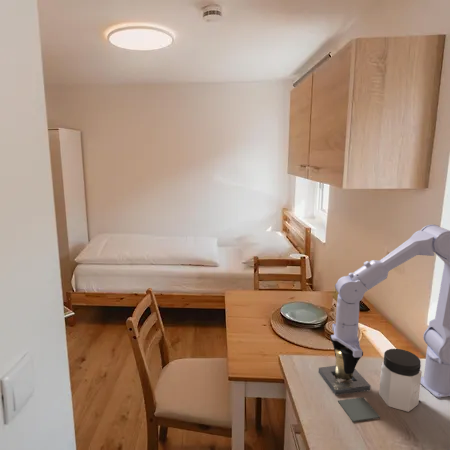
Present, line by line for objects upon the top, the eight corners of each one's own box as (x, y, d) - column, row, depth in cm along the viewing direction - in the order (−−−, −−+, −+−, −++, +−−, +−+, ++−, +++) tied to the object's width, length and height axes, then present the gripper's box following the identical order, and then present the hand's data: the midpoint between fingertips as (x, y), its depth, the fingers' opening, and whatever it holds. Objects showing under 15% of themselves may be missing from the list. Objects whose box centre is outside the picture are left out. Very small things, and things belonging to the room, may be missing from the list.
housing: (350, 368, 100) (350, 363, 100) (370, 390, 91) (370, 385, 90) (318, 372, 99) (318, 367, 98) (335, 395, 89) (335, 390, 89)
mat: (363, 398, 88) (363, 397, 88) (379, 418, 81) (380, 416, 81) (338, 401, 86) (338, 400, 86) (352, 422, 80) (352, 420, 80)
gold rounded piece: (348, 368, 97) (350, 346, 96) (357, 380, 92) (358, 356, 91) (331, 369, 97) (332, 347, 95) (338, 381, 92) (339, 357, 90)
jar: (404, 416, 81) (408, 371, 79) (373, 397, 88) (376, 355, 86) (423, 402, 86) (428, 359, 84) (392, 385, 93) (396, 344, 91)
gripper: (322, 310, 98) (321, 353, 101) (344, 335, 84) (341, 384, 86) (346, 309, 99) (344, 351, 101) (371, 333, 84) (367, 382, 87)
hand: (344, 366), depth 94 cm, fingers closed on gold rounded piece, 5 cm apart
